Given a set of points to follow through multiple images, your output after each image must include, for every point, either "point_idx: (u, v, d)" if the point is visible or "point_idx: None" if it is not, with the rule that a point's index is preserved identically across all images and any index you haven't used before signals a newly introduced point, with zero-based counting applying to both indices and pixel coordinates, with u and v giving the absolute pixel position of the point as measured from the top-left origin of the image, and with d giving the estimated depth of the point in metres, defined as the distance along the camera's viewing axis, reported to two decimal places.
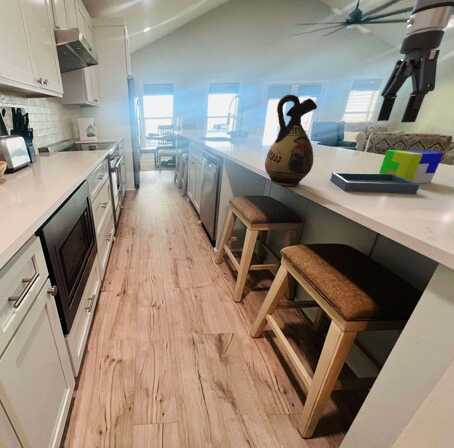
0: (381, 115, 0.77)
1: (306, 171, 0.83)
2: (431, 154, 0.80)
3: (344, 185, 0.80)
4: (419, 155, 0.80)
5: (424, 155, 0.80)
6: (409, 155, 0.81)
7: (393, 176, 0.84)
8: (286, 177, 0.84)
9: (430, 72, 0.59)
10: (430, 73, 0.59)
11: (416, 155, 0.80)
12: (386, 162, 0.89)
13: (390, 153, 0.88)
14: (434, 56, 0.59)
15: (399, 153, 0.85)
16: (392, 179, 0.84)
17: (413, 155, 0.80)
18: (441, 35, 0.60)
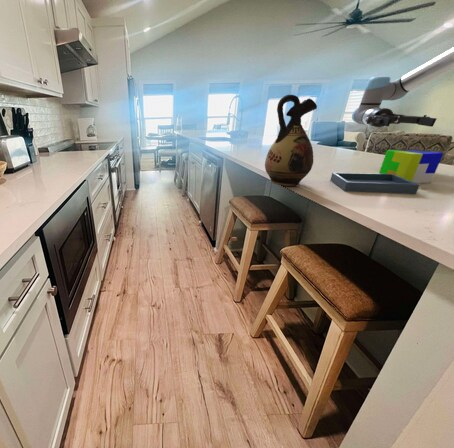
0: (427, 124, 0.88)
1: (306, 171, 0.83)
2: (431, 154, 0.80)
3: (344, 185, 0.80)
4: (419, 155, 0.80)
5: (424, 155, 0.80)
6: (409, 155, 0.81)
7: (393, 176, 0.84)
8: (286, 177, 0.84)
9: None
10: None
11: (416, 155, 0.80)
12: (386, 162, 0.89)
13: (390, 153, 0.88)
14: (367, 117, 1.01)
15: (399, 153, 0.85)
16: (392, 179, 0.84)
17: (413, 155, 0.80)
18: (374, 111, 1.04)
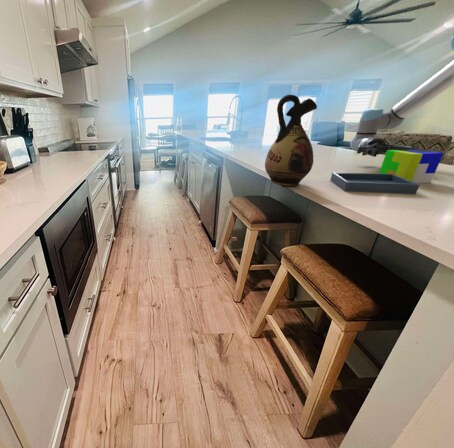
0: None
1: (306, 171, 0.83)
2: (431, 154, 0.80)
3: (344, 185, 0.80)
4: (419, 155, 0.80)
5: (424, 155, 0.80)
6: (409, 155, 0.81)
7: (393, 176, 0.84)
8: (286, 177, 0.84)
9: None
10: None
11: (416, 155, 0.80)
12: (386, 162, 0.89)
13: (390, 153, 0.88)
14: (360, 146, 1.08)
15: (399, 153, 0.85)
16: (392, 179, 0.84)
17: (413, 155, 0.80)
18: (367, 141, 1.10)
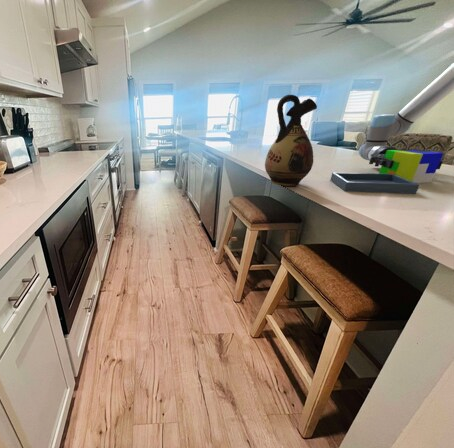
0: None
1: (306, 171, 0.83)
2: (431, 154, 0.80)
3: (344, 185, 0.80)
4: (419, 155, 0.80)
5: (424, 155, 0.80)
6: (409, 155, 0.81)
7: (393, 176, 0.84)
8: (286, 177, 0.84)
9: None
10: None
11: (416, 155, 0.80)
12: None
13: (390, 153, 0.88)
14: (371, 156, 0.98)
15: (399, 153, 0.85)
16: (392, 179, 0.84)
17: (413, 155, 0.80)
18: (378, 150, 1.00)
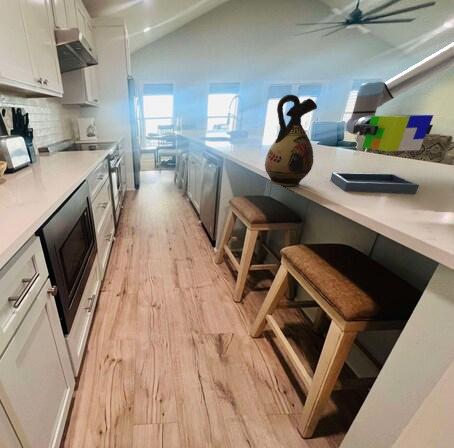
0: None
1: (306, 171, 0.83)
2: (419, 116, 0.71)
3: (344, 185, 0.80)
4: (406, 117, 0.71)
5: (411, 117, 0.71)
6: (395, 118, 0.72)
7: (393, 176, 0.84)
8: (286, 177, 0.84)
9: None
10: None
11: (402, 117, 0.71)
12: None
13: (375, 119, 0.79)
14: None
15: (384, 117, 0.76)
16: (392, 179, 0.84)
17: (399, 117, 0.71)
18: (365, 120, 0.91)
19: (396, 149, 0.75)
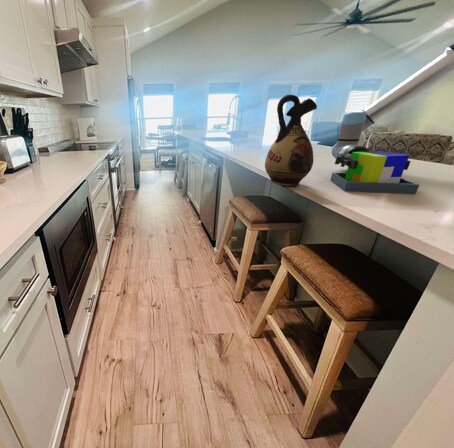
0: None
1: (306, 171, 0.83)
2: (396, 156, 0.74)
3: (344, 185, 0.80)
4: (383, 157, 0.74)
5: (388, 157, 0.74)
6: (373, 157, 0.75)
7: None
8: (286, 177, 0.84)
9: None
10: None
11: (380, 157, 0.74)
12: None
13: (355, 155, 0.82)
14: None
15: (363, 155, 0.78)
16: None
17: (377, 157, 0.74)
18: (348, 149, 0.94)
19: None
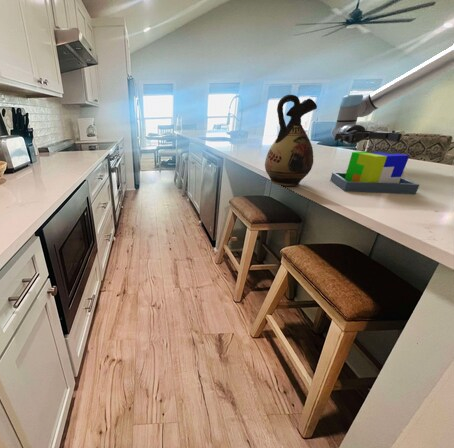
0: (394, 140, 0.86)
1: (306, 171, 0.83)
2: (396, 156, 0.74)
3: (344, 185, 0.80)
4: (383, 157, 0.74)
5: (388, 157, 0.74)
6: (373, 157, 0.75)
7: None
8: (286, 177, 0.84)
9: None
10: None
11: (380, 157, 0.74)
12: (352, 165, 0.83)
13: (355, 155, 0.82)
14: None
15: (363, 155, 0.78)
16: None
17: (377, 157, 0.74)
18: (346, 128, 1.03)
19: None
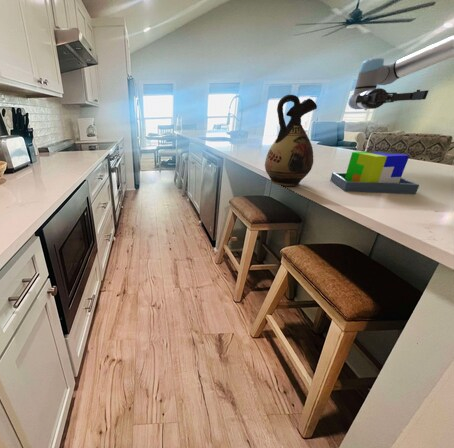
0: (420, 98, 0.83)
1: (306, 171, 0.83)
2: (396, 156, 0.74)
3: (344, 185, 0.80)
4: (383, 157, 0.74)
5: (388, 157, 0.74)
6: (373, 157, 0.75)
7: None
8: (286, 177, 0.84)
9: None
10: None
11: (380, 157, 0.74)
12: (352, 165, 0.83)
13: (355, 155, 0.82)
14: None
15: (363, 155, 0.78)
16: None
17: (377, 157, 0.74)
18: (366, 93, 1.00)
19: None
